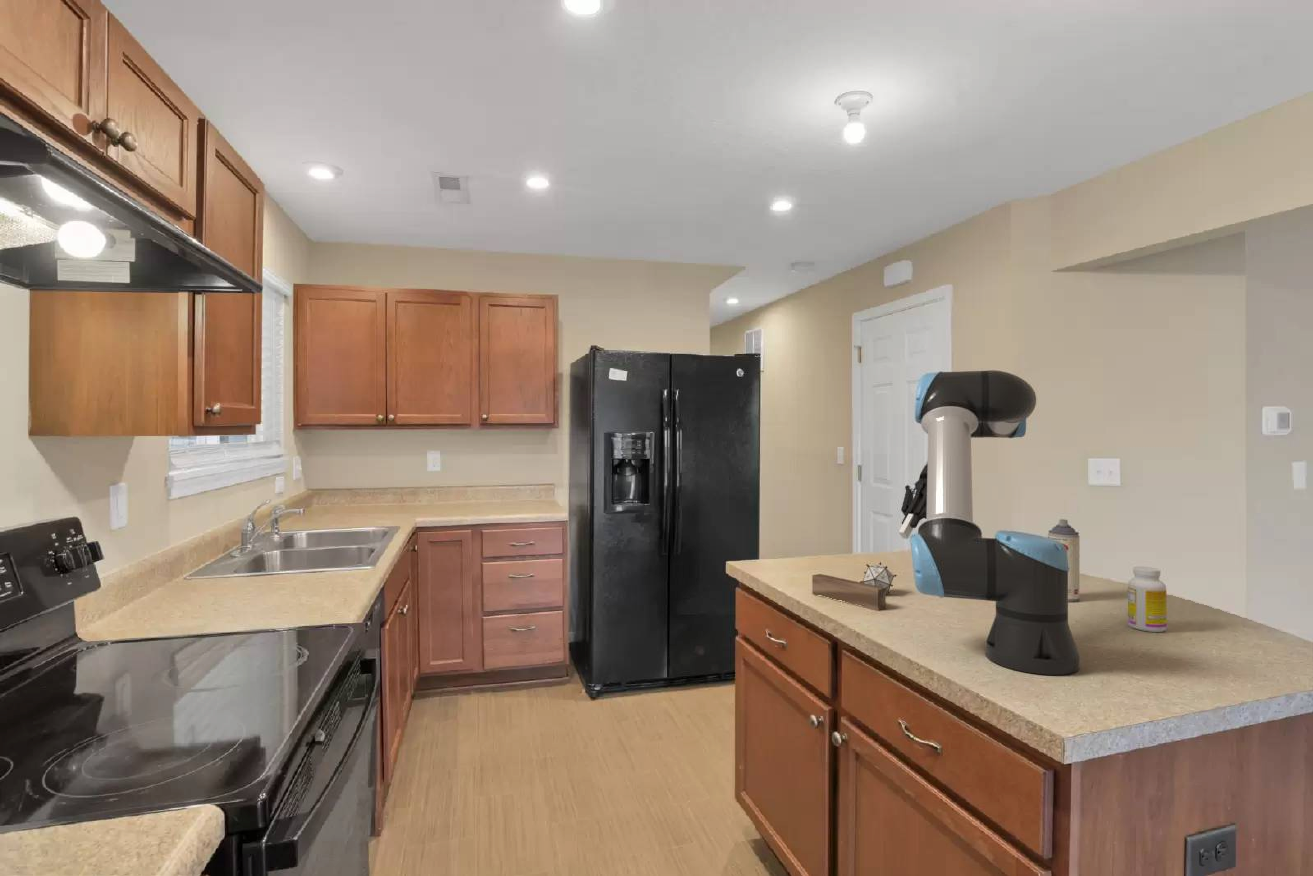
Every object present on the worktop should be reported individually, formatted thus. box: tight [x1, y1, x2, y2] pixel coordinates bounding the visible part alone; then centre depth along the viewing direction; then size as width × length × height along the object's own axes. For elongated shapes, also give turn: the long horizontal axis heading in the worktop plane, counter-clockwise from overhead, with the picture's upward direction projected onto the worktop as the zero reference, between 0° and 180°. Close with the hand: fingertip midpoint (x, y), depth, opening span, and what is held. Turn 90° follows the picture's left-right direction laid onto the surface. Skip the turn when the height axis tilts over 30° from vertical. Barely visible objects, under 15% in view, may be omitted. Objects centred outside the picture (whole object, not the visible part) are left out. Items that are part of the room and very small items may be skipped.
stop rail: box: [811, 573, 887, 611], centre depth 167 cm, size 3×20×5 cm, turn 36°
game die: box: [859, 561, 897, 594], centre depth 174 cm, size 9×8×10 cm
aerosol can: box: [1047, 518, 1080, 603], centre depth 168 cm, size 7×7×20 cm
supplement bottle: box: [1127, 566, 1168, 633], centre depth 143 cm, size 7×7×13 cm
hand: (903, 535), depth 181 cm, fingers closed
